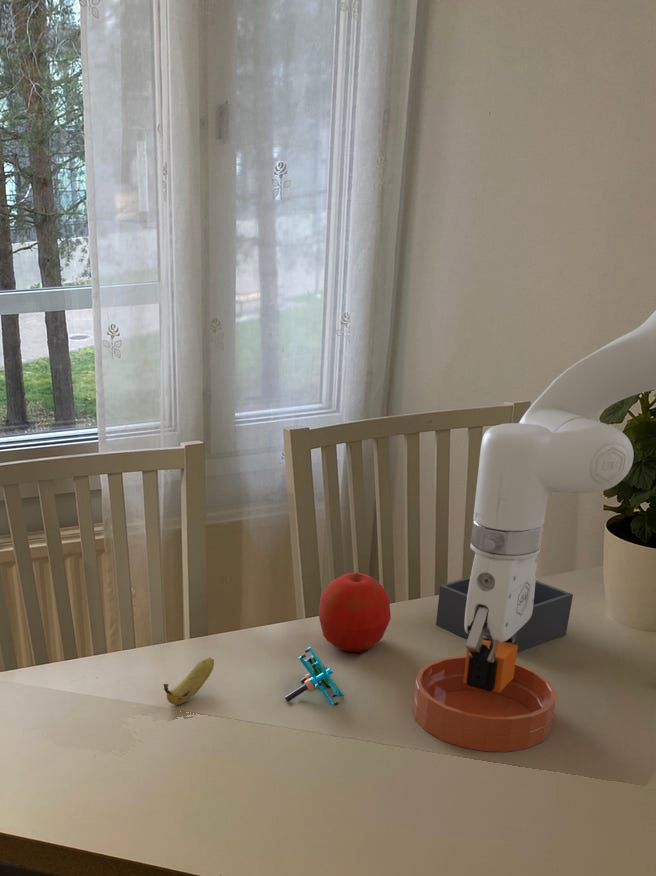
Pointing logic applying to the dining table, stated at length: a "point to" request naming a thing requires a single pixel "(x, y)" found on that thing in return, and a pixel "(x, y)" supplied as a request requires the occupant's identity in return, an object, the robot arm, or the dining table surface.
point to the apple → (354, 612)
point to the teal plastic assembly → (315, 678)
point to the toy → (500, 663)
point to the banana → (190, 683)
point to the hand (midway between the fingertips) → (488, 677)
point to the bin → (540, 628)
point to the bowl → (483, 708)
